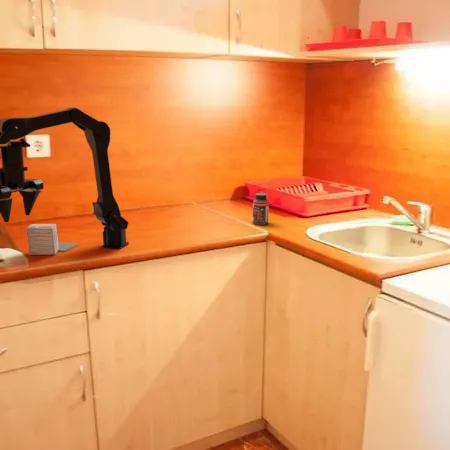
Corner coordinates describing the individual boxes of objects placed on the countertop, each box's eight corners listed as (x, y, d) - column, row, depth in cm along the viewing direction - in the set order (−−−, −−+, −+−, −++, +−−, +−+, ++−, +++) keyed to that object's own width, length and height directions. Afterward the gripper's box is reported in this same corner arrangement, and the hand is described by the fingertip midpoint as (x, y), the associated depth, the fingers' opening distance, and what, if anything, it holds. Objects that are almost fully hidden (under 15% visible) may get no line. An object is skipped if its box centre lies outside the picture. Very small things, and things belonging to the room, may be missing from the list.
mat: (79, 245, 174) (79, 244, 174) (64, 252, 167) (64, 250, 167) (55, 242, 177) (55, 241, 177) (40, 249, 170) (39, 248, 170)
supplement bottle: (250, 224, 202) (251, 194, 199) (254, 221, 207) (255, 192, 205) (266, 225, 200) (266, 195, 197) (269, 222, 206) (270, 193, 203)
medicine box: (59, 249, 168) (56, 223, 165) (55, 255, 164) (52, 228, 161) (33, 249, 168) (30, 223, 165) (29, 255, 163) (25, 228, 160)
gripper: (10, 158, 161) (14, 210, 165) (-36, 166, 144) (-30, 223, 147) (42, 160, 158) (46, 212, 162) (-1, 168, 140) (4, 226, 144)
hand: (17, 218), depth 154 cm, fingers open, 9 cm apart
